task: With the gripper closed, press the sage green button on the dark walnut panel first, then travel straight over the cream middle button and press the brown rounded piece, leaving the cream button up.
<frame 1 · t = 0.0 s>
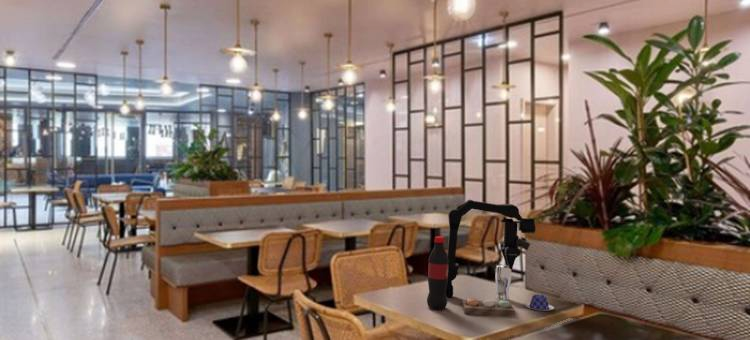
hand: (509, 267, 239), 15 cm above the table, tool pointing down, fingers open, 9 cm apart
cola bottle: (436, 308, 222), on the table
brown rounded piece: (472, 303, 221), point 3 cm above the table, slide at 0.0 cm
green button: (504, 305, 220), point 3 cm above the table, slide at 0.0 cm
cream button: (488, 304, 220), point 3 cm above the table, slide at 0.0 cm
button panel: (487, 310, 221), on the table
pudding: (539, 308, 228), on the table
beer glass: (502, 299, 240), on the table
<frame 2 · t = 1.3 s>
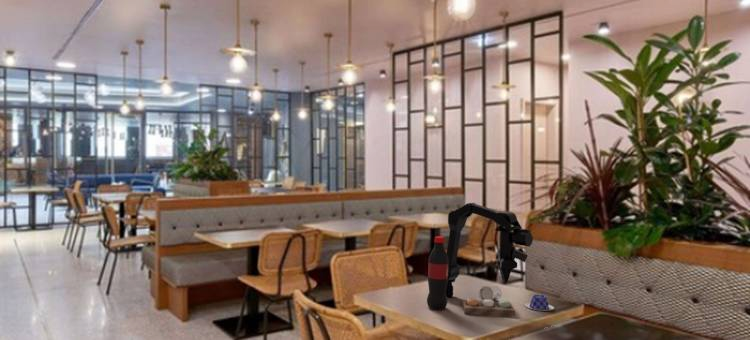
hand: (505, 280, 220), 13 cm above the table, tool pointing down, fingers open, 6 cm apart
beer glass: (495, 292, 239), point 3 cm above the table, touching button panel
everything else where it was.
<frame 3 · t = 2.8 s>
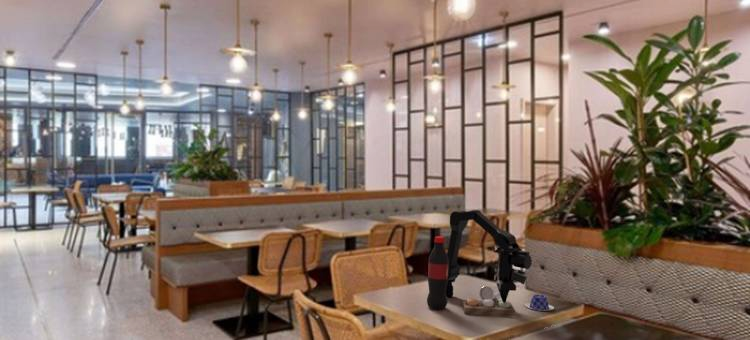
hand: (504, 302, 220), 4 cm above the table, tool pointing down, fingers closed, pressing on green button
green button: (503, 305, 220), point 3 cm above the table, slide at 0.2 cm, touching gripper
everything else where it was.
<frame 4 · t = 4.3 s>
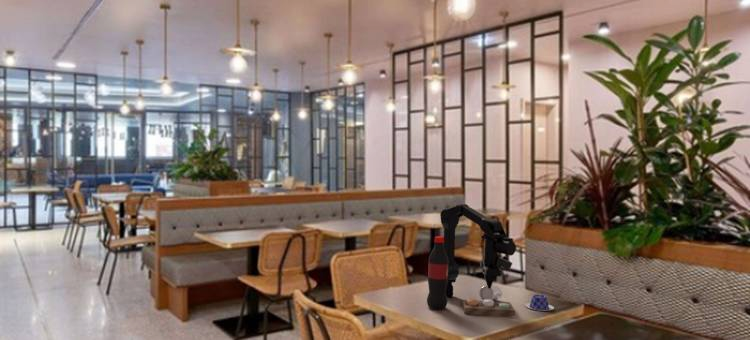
hand: (489, 288, 221), 9 cm above the table, tool pointing down, fingers closed
green button: (503, 307, 220), point 2 cm above the table, slide at 1.1 cm
everything else where it was.
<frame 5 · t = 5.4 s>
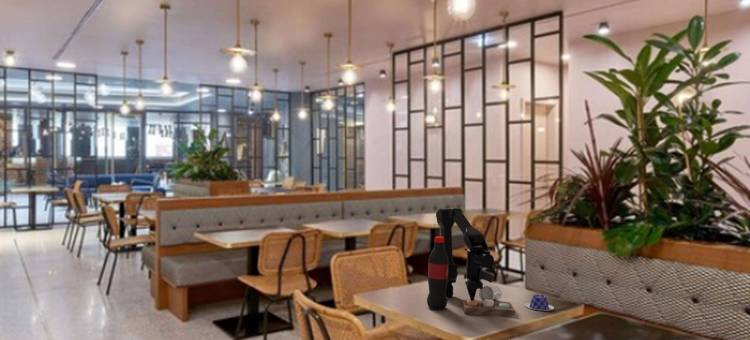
hand: (472, 300, 221), 4 cm above the table, tool pointing down, fingers closed, pressing on brown rounded piece
brown rounded piece: (472, 303, 221), point 3 cm above the table, slide at 0.2 cm, touching gripper
everything else where it was.
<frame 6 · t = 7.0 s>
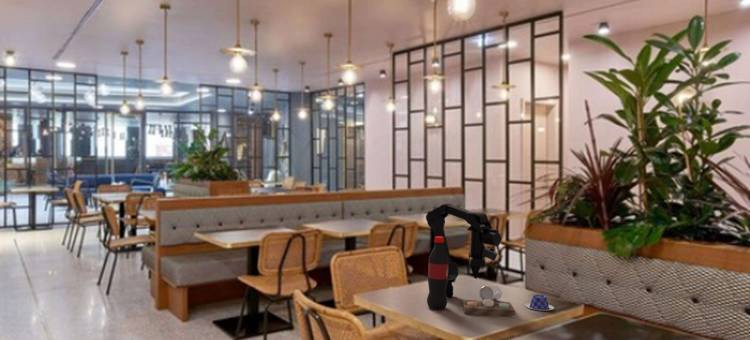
hand: (475, 278, 228), 12 cm above the table, tool pointing down, fingers closed
brown rounded piece: (472, 306, 221), point 2 cm above the table, slide at 1.2 cm
everything else where it was.
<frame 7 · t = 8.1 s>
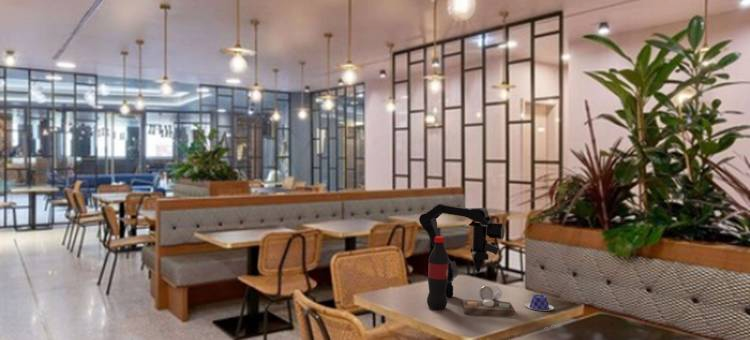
hand: (478, 272, 234), 13 cm above the table, tool pointing down, fingers closed
nothing on the table moved.
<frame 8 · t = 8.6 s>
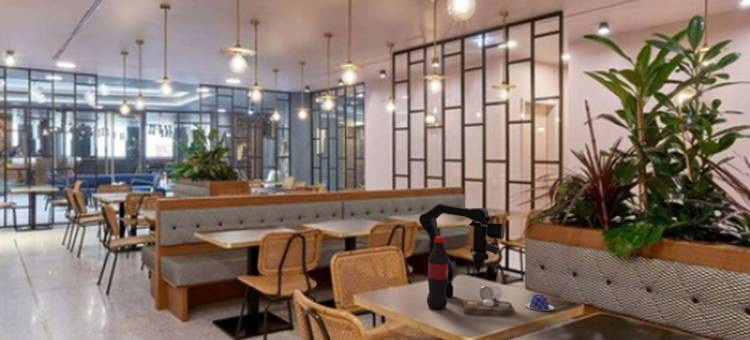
hand: (478, 272, 234), 13 cm above the table, tool pointing down, fingers closed
nothing on the table moved.
at the end: green button slide at 1.1 cm; brown rounded piece slide at 1.2 cm; cream button slide at 0.0 cm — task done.
